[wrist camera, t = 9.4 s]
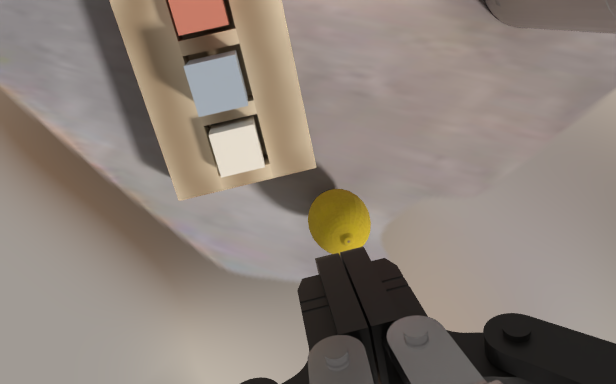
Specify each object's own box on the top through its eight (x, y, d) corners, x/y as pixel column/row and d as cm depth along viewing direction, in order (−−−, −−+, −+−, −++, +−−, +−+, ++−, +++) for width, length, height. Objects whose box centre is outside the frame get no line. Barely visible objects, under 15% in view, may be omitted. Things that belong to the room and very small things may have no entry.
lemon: (324, 239, 46) (340, 282, 39) (291, 200, 44) (301, 238, 37) (368, 207, 46) (393, 244, 38) (337, 166, 44) (357, 197, 36)
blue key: (235, 49, 35) (234, 54, 31) (247, 96, 36) (248, 105, 33) (189, 60, 35) (183, 66, 31) (203, 106, 36) (198, 117, 32)
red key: (217, -26, 35) (214, -31, 31) (229, 23, 36) (228, 24, 32) (170, -16, 34) (162, -20, 31) (185, 33, 36) (178, 35, 32)
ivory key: (252, 113, 39) (254, 124, 35) (262, 152, 40) (265, 167, 37) (211, 123, 39) (208, 135, 35) (223, 162, 40) (221, 177, 36)
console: (264, -60, 36) (267, -68, 32) (310, 154, 43) (316, 167, 39) (113, -27, 35) (98, -32, 31) (184, 184, 42) (178, 200, 38)
